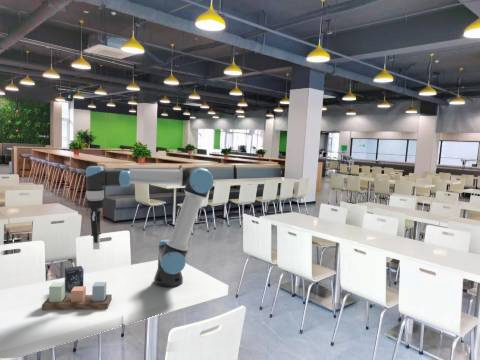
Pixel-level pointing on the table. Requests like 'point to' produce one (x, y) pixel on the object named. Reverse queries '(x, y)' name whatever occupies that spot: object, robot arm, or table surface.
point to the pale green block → (57, 292)
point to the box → (73, 277)
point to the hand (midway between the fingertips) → (96, 248)
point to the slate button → (99, 291)
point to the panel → (77, 304)
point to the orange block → (78, 294)
